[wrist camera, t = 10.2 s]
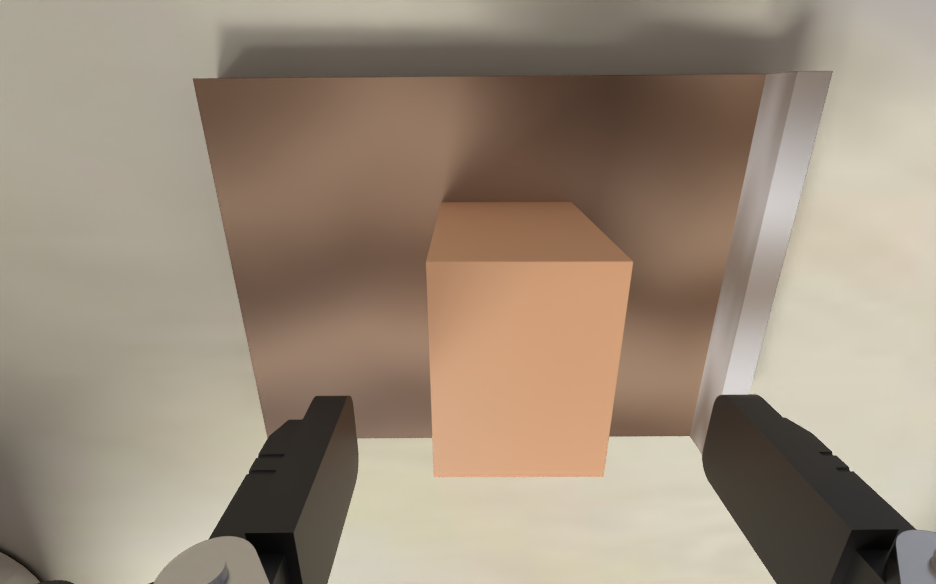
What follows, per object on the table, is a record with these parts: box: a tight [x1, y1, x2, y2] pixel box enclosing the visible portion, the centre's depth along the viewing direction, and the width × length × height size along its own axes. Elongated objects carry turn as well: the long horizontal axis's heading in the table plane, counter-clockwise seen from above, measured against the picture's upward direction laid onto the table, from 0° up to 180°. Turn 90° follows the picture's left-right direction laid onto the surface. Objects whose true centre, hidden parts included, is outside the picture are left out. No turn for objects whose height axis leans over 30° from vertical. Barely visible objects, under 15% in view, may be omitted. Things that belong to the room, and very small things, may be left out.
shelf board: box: [193, 71, 833, 454], centre depth 17 cm, size 14×19×3 cm
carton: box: [426, 202, 633, 477], centre depth 14 cm, size 5×6×6 cm
